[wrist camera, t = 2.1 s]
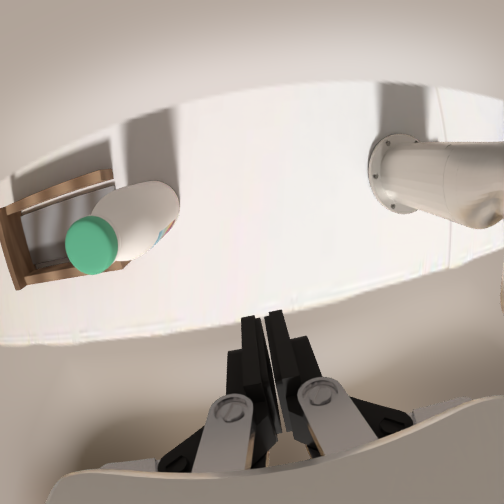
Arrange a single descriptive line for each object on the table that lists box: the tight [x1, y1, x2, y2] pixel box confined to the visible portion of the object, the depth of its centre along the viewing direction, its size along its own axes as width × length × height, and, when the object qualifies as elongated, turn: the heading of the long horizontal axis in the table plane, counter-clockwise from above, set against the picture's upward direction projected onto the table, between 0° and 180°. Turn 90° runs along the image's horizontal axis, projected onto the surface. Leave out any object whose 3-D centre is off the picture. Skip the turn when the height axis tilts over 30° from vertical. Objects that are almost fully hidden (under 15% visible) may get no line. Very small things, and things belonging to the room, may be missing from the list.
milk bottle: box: [65, 181, 180, 275], centre depth 28 cm, size 8×8×20 cm
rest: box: [0, 169, 131, 290], centre depth 35 cm, size 22×14×6 cm, turn 98°
